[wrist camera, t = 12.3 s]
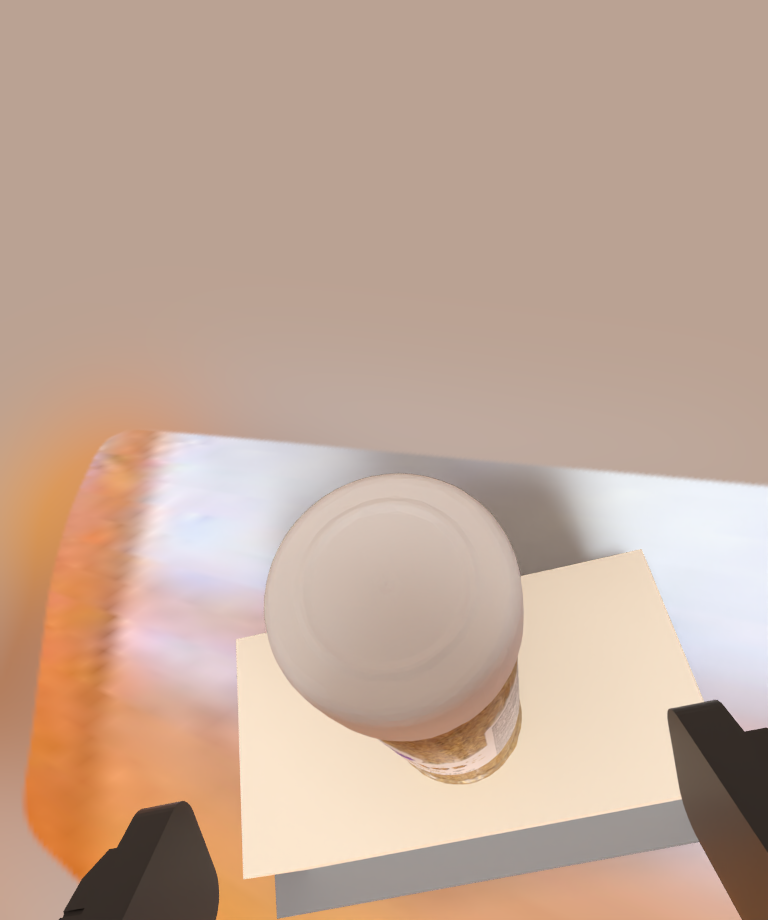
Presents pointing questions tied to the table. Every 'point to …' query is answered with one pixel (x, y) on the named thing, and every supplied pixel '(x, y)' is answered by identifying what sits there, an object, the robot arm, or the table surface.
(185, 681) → the table surface
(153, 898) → the robot arm
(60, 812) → the table surface
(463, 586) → the sprinkles bottle
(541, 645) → the cream and grey block
